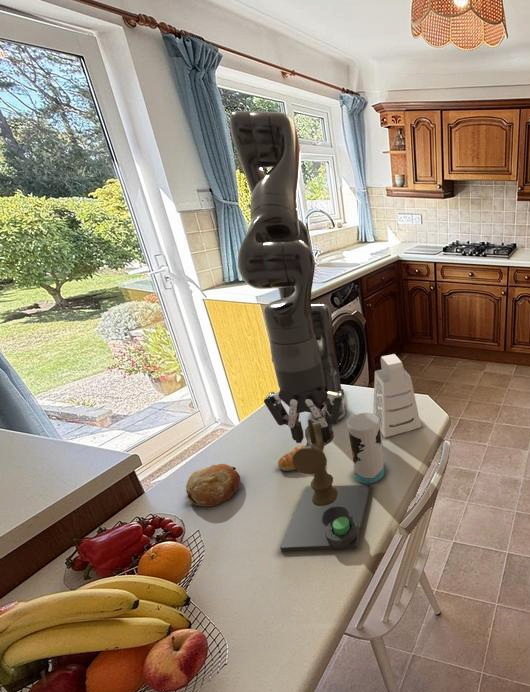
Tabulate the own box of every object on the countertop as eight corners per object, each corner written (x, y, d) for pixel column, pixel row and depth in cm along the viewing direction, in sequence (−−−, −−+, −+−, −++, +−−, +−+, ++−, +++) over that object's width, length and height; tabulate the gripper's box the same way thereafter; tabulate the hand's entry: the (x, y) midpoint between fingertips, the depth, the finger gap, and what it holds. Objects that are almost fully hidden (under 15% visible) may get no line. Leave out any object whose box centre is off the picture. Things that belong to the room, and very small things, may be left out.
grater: (384, 437, 109) (377, 371, 100) (373, 418, 117) (365, 355, 108) (421, 426, 113) (417, 363, 104) (407, 408, 122) (403, 348, 112)
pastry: (283, 478, 94) (280, 465, 92) (275, 462, 99) (272, 450, 97) (323, 461, 99) (321, 449, 98) (314, 448, 104) (311, 436, 102)
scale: (307, 490, 91) (304, 480, 89) (370, 488, 92) (369, 478, 90) (280, 554, 76) (277, 543, 75) (356, 550, 77) (354, 540, 76)
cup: (383, 462, 100) (378, 411, 93) (385, 481, 94) (379, 428, 87) (355, 466, 98) (347, 414, 91) (355, 485, 92) (347, 432, 86)
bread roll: (191, 506, 90) (165, 492, 84) (222, 465, 96) (200, 449, 90) (224, 519, 88) (199, 505, 81) (254, 475, 93) (233, 460, 87)
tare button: (335, 523, 80) (334, 517, 79) (351, 522, 80) (350, 516, 79) (332, 536, 77) (330, 529, 76) (348, 535, 77) (347, 528, 76)
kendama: (304, 518, 80) (284, 436, 71) (315, 483, 88) (299, 406, 79) (336, 515, 81) (320, 434, 72) (343, 481, 89) (330, 404, 80)
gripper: (344, 350, 74) (355, 427, 81) (263, 351, 73) (282, 429, 80) (334, 370, 67) (347, 451, 75) (244, 370, 66) (267, 453, 74)
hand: (313, 439), depth 78 cm, fingers closed on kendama, 4 cm apart
